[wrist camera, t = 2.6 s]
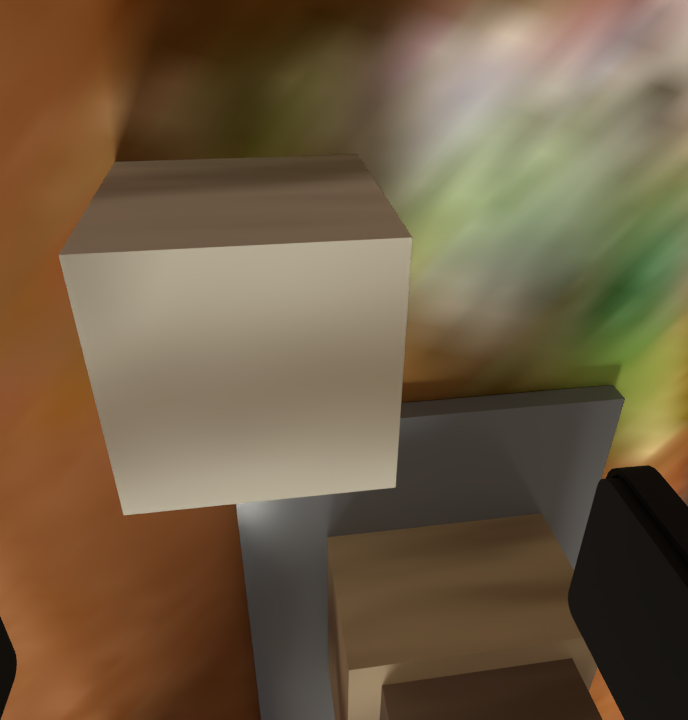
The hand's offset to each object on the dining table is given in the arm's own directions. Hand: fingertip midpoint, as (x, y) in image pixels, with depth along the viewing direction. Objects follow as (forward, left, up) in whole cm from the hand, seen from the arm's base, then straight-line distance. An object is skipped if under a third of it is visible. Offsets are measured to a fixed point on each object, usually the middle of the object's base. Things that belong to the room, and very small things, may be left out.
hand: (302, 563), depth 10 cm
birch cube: (-1, -1, -10) cm, 10 cm away
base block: (+13, +5, -9) cm, 17 cm away
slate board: (+13, +5, -10) cm, 17 cm away
